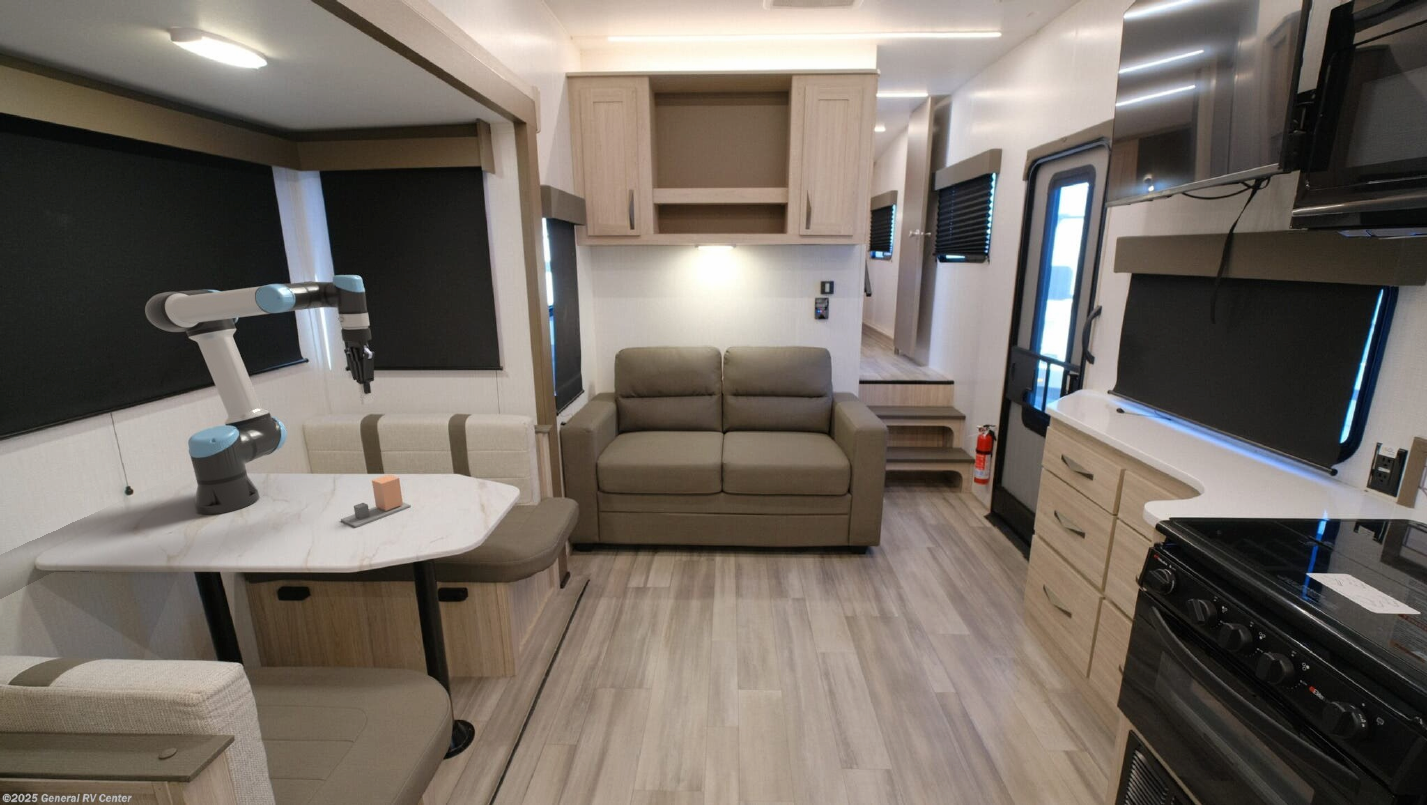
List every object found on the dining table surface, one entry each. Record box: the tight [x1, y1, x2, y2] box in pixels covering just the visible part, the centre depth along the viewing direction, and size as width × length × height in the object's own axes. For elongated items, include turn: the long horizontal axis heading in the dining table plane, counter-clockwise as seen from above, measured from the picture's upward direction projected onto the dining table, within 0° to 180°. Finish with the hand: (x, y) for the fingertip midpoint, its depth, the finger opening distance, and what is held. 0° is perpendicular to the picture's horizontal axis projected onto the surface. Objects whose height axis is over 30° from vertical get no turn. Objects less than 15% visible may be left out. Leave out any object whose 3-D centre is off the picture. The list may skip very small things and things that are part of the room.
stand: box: [340, 502, 412, 528], centre depth 167 cm, size 8×16×9 cm, turn 149°
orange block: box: [371, 474, 403, 511], centre depth 170 cm, size 5×5×9 cm
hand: (367, 403), depth 177 cm, fingers closed
